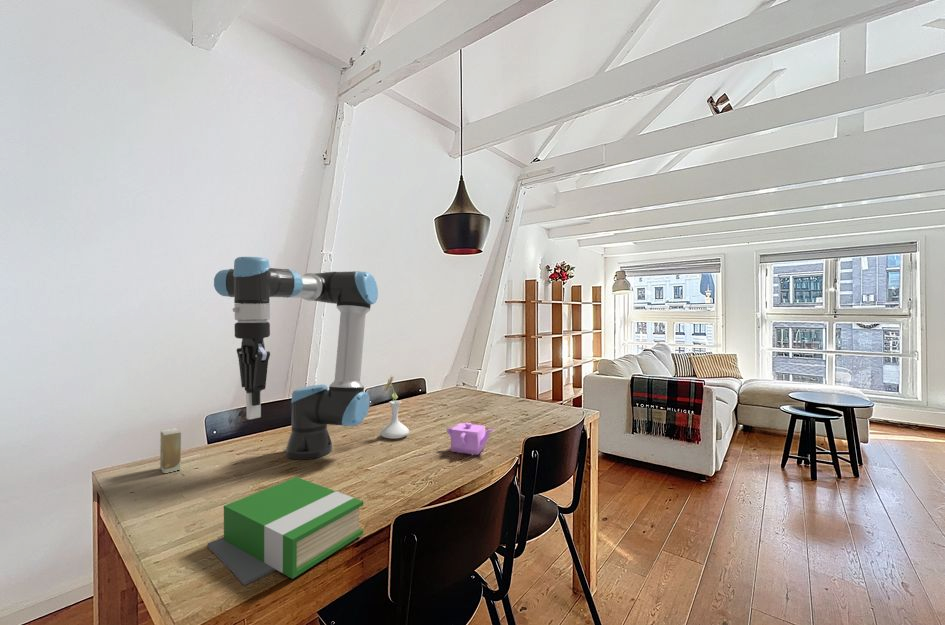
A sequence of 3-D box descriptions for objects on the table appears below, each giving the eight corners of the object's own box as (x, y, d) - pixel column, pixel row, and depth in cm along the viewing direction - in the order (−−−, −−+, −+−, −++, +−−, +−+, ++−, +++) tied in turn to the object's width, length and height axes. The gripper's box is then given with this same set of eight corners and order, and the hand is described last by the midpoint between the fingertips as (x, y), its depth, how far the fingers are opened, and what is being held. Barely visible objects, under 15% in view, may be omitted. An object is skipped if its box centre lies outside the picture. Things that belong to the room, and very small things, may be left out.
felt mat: (207, 546, 86) (207, 543, 86) (305, 507, 103) (305, 504, 103) (244, 585, 74) (244, 582, 74) (348, 534, 91) (348, 531, 91)
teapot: (498, 448, 148) (499, 421, 147) (488, 462, 134) (488, 432, 134) (453, 443, 153) (453, 416, 153) (438, 455, 140) (438, 426, 140)
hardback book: (296, 476, 103) (363, 501, 90) (296, 505, 103) (363, 533, 90) (223, 505, 87) (292, 539, 75) (223, 539, 88) (292, 578, 75)
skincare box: (159, 469, 126) (159, 430, 126) (176, 465, 129) (176, 427, 129) (163, 475, 122) (164, 434, 122) (181, 470, 125) (181, 431, 125)
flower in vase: (386, 431, 166) (386, 371, 166) (412, 432, 165) (413, 372, 165) (374, 441, 154) (374, 376, 153) (402, 443, 152) (403, 377, 152)
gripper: (224, 320, 98) (226, 416, 99) (247, 323, 90) (249, 427, 91) (256, 319, 104) (257, 409, 105) (280, 321, 96) (281, 419, 97)
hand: (253, 417), depth 98 cm, fingers closed
